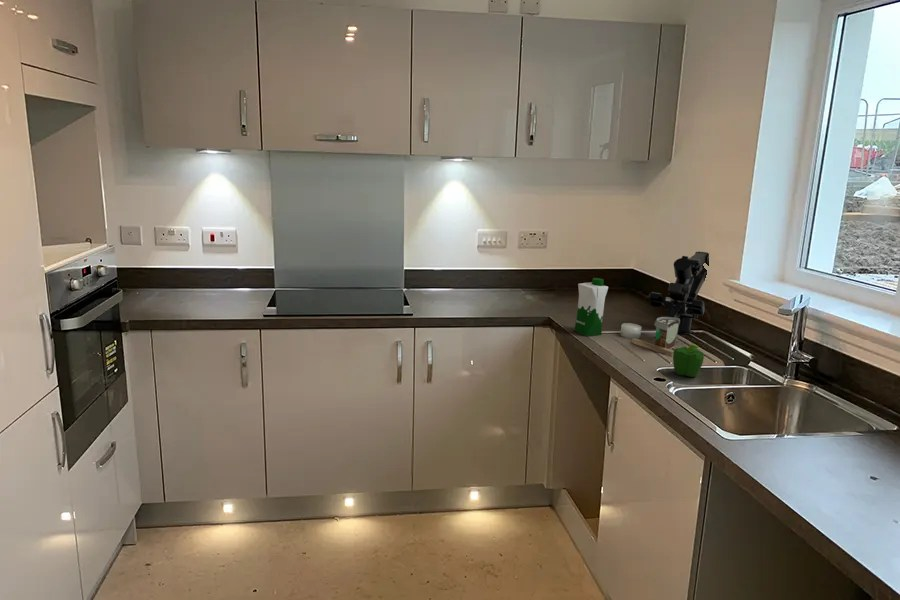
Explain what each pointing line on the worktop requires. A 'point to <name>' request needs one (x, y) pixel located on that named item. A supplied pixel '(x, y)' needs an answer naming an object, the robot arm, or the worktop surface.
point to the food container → (666, 331)
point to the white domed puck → (630, 330)
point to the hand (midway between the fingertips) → (669, 322)
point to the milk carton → (590, 307)
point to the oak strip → (652, 347)
